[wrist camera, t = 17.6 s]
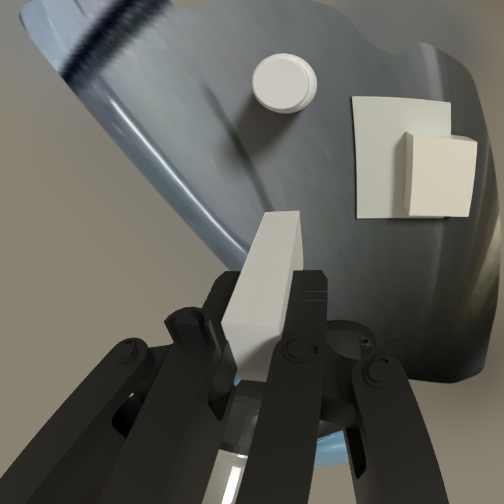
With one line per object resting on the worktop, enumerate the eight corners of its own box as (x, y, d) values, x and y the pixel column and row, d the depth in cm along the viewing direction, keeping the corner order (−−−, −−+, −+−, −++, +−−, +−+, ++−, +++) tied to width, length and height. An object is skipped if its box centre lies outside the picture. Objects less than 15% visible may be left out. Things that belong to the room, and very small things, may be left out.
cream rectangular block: (403, 205, 34) (459, 206, 32) (409, 215, 32) (468, 216, 29) (405, 131, 29) (466, 136, 27) (413, 135, 26) (477, 142, 24)
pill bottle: (256, 72, 30) (230, 68, 20) (302, 52, 27) (296, 37, 18) (279, 115, 32) (263, 128, 23) (325, 96, 30) (329, 101, 20)
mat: (442, 217, 34) (443, 218, 33) (356, 217, 37) (356, 218, 37) (449, 102, 25) (450, 102, 25) (351, 96, 29) (352, 96, 28)
